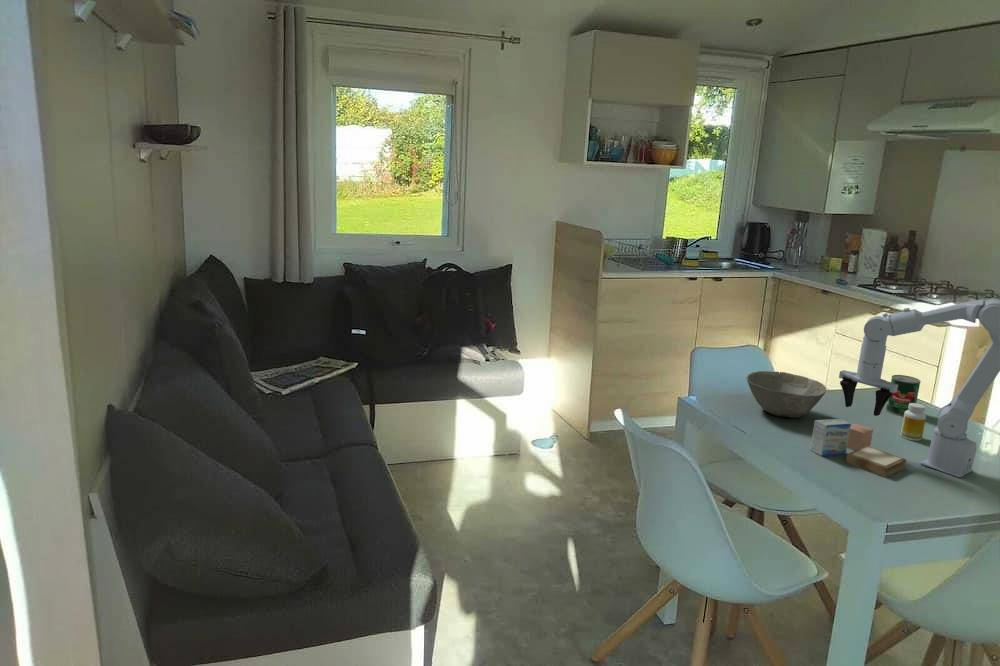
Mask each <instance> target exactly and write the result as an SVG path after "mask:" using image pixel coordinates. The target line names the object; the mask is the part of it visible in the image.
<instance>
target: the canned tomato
mask: <svg viewBox="0 0 1000 666" xmlns="http://www.w3.org/2000/svg"><path fill="white" fill-rule="evenodd" d="M890 382H891V383H894V384H897V385H898V388H897V392H895V393H893V395H892V396H891V397H890V398H889V399H888V401H887V402H886V407H885V411H886V412H887V413H890V414H892V415H896V416H900V417H904V413H905V411H907V410H909V409H908V406H909V403H918V402H917V401H918V398H919V397H918V396H919V391H920V387H921V386H920V385H921V379H919V378H917V377H913V376H910V375H903V374H892V375H891V380H890Z"/></svg>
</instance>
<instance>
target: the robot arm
mask: <svg viewBox="0 0 1000 666" xmlns="http://www.w3.org/2000/svg"><path fill="white" fill-rule="evenodd" d="M956 320H964V321H967V322H969V323H973V324H976V321H977V320H978V322H980V323H979V324H981V326H982V327H983V328H984V329H985V330H986V331H987V332H988V335H989V337H990V339H991V341H992V342H991V343H990V344H989V346H988V347H987V349H986V350H985V352H984V353H983V355H982V357H981V358H980V359H979V361H978V362H977V363H976V365H975V366H974V368H973V370H972V372H971V373H970V375H968V377H967V379H966V380H965V382H964V383H963V385H962V387H961V388H960V390H959V391H958V392H957V394H956V395H955V396H953V398H952V399H951V401H950V402H949V403H947V404H946V405H944V406H942V407H941V408H940V409H939V411H938V419H937V422H936V423H937V425H936V427H934V428H933V431H932V434H931V439H930V440H931V441H930V444H929V450H928V456H927V458H926V459H924V460H921V461H920V463H919V465H922V466H925V467H929V468H931V469H934V470H937V471H939V472H942V473H945V474H949V475H951V476H954V477H957V478H962V477H964V476H966V475H967V474H969V473H971V472H972V471H974V470H973V465H974V462H975V457H976V452H977V442H976V441H973V440H972V439H970V438H969V437H967V436H968V434H967V433H966V432H967V430H968V422H969V420H970V419H971V417H972V416H973V413H974V411H975V409H976V407H977V405H978V403H979V402H981V399H983V396H985V395H984V394H986V392H987V391H988V389H989V388H990V386H991V385H992V383H993V382H994V380H995V379H996V377H997V376H998V375H999V373H1000V298H999V297H998V298H997V297H990V298H987V299H985V300H983V299H975V300H969V301H965V302H961V303H956V304H953V305H947V306H944V307H939V308H935V309H931V310H928V311H927V310H926V311H923V312H922V311H920V310H918V309H916V308H913V309H910V307H906V308H903V309H902V311H898V312H894V313H890V314H888V312H885V313H882V316H880V315H874V316H872V317H870V318H869V319H868V320H867V321H866V323H865V325H864V327H863V333H864V335H863V338H862V343H861V347H860V353H859V357H858V358H859V359H858V364H857V370H856V371H855V372H854V371H849V370H845V369H844V370H840V371H839V375H838V378H839V379H842V380H840V381H839V384H840V387H841V389H842V393H843V395H844V397H843V398H844V404H845V405H844V406H845V408H849V407H852V405H853V402H854V395H855V392H856V388H857V385H858V384H862V385H867V386H869V387H873V388H877V389H878V390H875V405H874V410H873V416H875V417H877V416H879V415H881V414H882V411H883V409H884V407H885V405H886V404H887V401H888V399H889V398H890V397H891V396H892V395H893V393H895V392H897V388H898V385H897V384H894V383H891V381H888V380H886V379H883V378H882V375H883V374H882V372H883V367H884V361H885V356H886V351H887V345H886V344H887V339H888V336H890V337H896V336H900V335H901V336H902V335H908V334H911V333H912V334H913V333H916V332H917V333H918V332H921V331H922V330H923V329H924V327H925V326H926V325H932V324H939V323H944V322H951V321H956Z"/></svg>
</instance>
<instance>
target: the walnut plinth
mask: <svg viewBox="0 0 1000 666" xmlns="http://www.w3.org/2000/svg"><path fill="white" fill-rule="evenodd" d="M845 460H846V461H845V463H846V464H847V465H848V464H849V465H851V466H854V467H857V468H859V469H862V470H865V471H868V472H870V473H871V474H876V475H878V476H881V477H883V478H887V477H889V476H892V475H894V474H895V473H897V472H900V471H902V470H904V469H905V467H906V462H907V459H906V458H904V457H900V456H898V455H894V454H891V453H890V452H889V453H888V452H886V451H882V450H880V449H877V448H874V447H872V446H870V447H869V446H865V447H863V448H860V449H858V450H853V451H851V452H848V453H847V455H846V458H845Z"/></svg>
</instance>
